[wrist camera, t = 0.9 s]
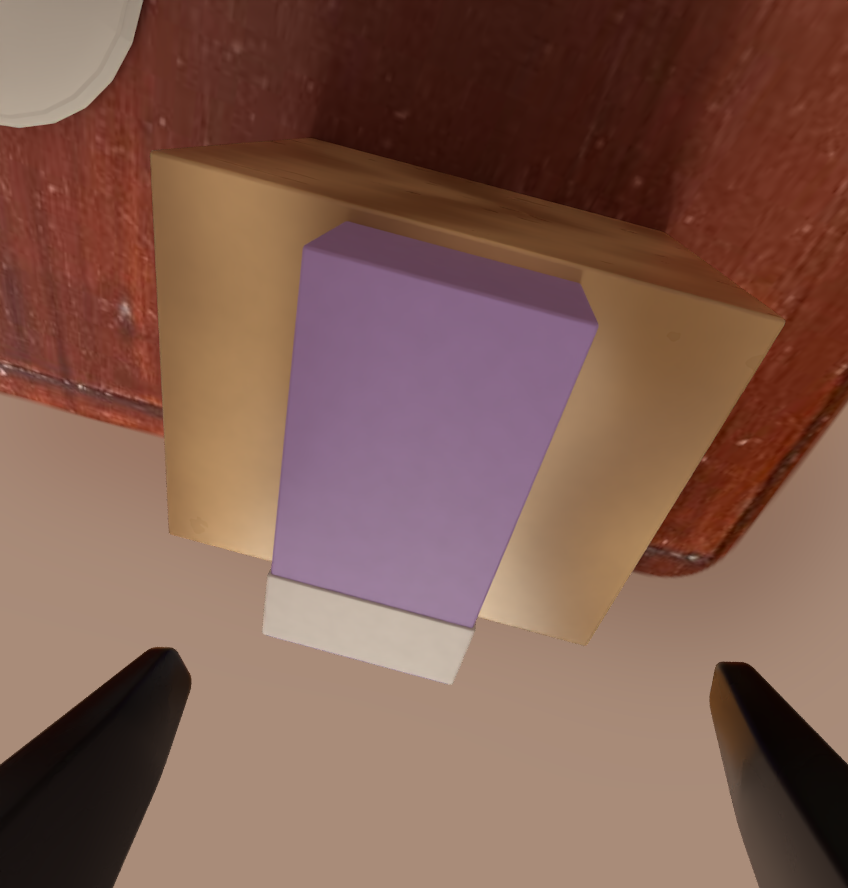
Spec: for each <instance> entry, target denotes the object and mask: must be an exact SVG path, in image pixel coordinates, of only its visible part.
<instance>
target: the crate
mask: <svg viewBox="0 0 848 888" xmlns="http://www.w3.org/2000/svg"><path fill="white" fill-rule="evenodd" d="M150 165H151V185H152V205H153V225H154V245H155V265H156V285H157V305H158V325H159V345H160V365H161V385H162V405H163V425H164V445H165V465H166V484H167V503H168V522H169V523H168V525H169V533H170V534H171V535H175V536H179V537H182V538H186V539H189V540H193V541H197V542H201V543H205V544H208V545H212V546H216V547H219V548H223V549H227V550H230V551H234V552H238V553H241V554H245V555H249V556H253V557H256V558H260V559H264V560H268V561H271V562H272V557H273V547H274V537H275V526H276V516H277V506H278V496H279V486H280V475H281V465H282V455H283V445H284V435H285V424H286V414H287V404H288V394H289V384H290V373H291V363H292V353H293V343H294V333H295V322H296V312H297V302H298V292H299V282H300V272H301V261H302V251H303V247H304V245H306V244H307V243H309V242H311V241H313V240H314V239H316V238H318V237H320V236H321V235H323V234H325V233H327V232H328V231H330V230H332V229H334V228H335V227H337V226H339V225H340V224H342V223H344V222H347V221H349V222H352V223H356V224H360V225H364V226H367V227H371V228H375V229H379V230H382V231H386V232H390V233H394V234H397V235H401V236H405V237H409V238H412V239H416V240H420V241H423V242H427V243H431V244H435V245H438V246H442V247H446V248H450V249H453V250H457V251H461V252H465V253H468V254H472V255H476V256H480V257H483V258H487V259H491V260H495V261H498V262H502V263H506V264H510V265H513V266H517V267H521V268H524V269H528V270H532V271H536V272H539V273H543V274H547V275H551V276H554V277H558V278H562V279H566V280H569V281H573V282H577V283H579V284H581V286H582V288H583V290H584V292H585V295H586V297H587V299H588V301H589V304H590V306H591V308H592V311H593V313H594V315H595V317H596V320H597V322H598V330H597V332H596V335H595V337H594V339H593V342H592V344H591V347H590V349H589V351H588V354H587V356H586V358H585V361H584V363H583V366H582V368H581V370H580V373H579V375H578V378H577V380H576V382H575V385H574V387H573V390H572V392H571V394H570V397H569V399H568V402H567V404H566V406H565V409H564V411H563V414H562V416H561V418H560V421H559V423H558V426H557V428H556V430H555V433H554V435H553V437H552V440H551V442H550V445H549V447H548V449H547V452H546V454H545V457H544V459H543V461H542V464H541V466H540V469H539V471H538V473H537V476H536V478H535V481H534V483H533V485H532V488H531V490H530V493H529V495H528V497H527V500H526V502H525V505H524V507H523V509H522V512H521V514H520V517H519V519H518V521H517V524H516V526H515V528H514V531H513V533H512V536H511V538H510V540H509V543H508V545H507V548H506V550H505V552H504V555H503V557H502V560H501V562H500V564H499V567H498V569H497V572H496V574H495V576H494V579H493V581H492V584H491V586H490V588H489V591H488V593H487V596H486V598H485V600H484V603H483V605H482V607H481V610H480V612H479V615H478V617H479V618H483V619H486V620H491V621H494V622H498V623H502V624H505V625H509V626H513V627H516V628H520V629H524V630H527V631H531V632H535V633H539V634H543V635H546V636H550V637H554V638H557V639H561V640H564V641H568V642H572V643H576V644H580V645H583V646H586V645H587V644H588V642H589V641H590V639H591V638H592V636H593V634H594V633H595V631H596V629H597V628H598V626H599V624H600V623H601V621H602V620H603V618H604V616H605V615H606V613H607V612H608V610H609V608H610V607H611V605H612V603H613V602H614V600H615V598H616V597H617V595H618V594H619V592H620V590H621V589H622V587H623V586H624V584H625V582H626V581H627V579H628V578H629V576H630V574H631V573H632V571H633V569H634V568H635V566H636V565H637V563H638V561H639V560H640V558H641V556H642V555H643V553H644V552H645V550H646V548H647V547H648V545H649V543H650V542H651V540H652V539H653V537H654V535H655V534H656V532H657V531H658V529H659V527H660V526H661V524H662V522H663V521H664V519H665V518H666V516H667V514H668V513H669V511H670V509H671V508H672V506H673V505H674V503H675V501H676V500H677V498H678V496H679V495H680V493H681V492H682V490H683V488H684V487H685V485H686V483H687V482H688V480H689V479H690V477H691V475H692V474H693V472H694V470H695V469H696V467H697V466H698V464H699V462H700V461H701V459H702V458H703V456H704V454H705V453H706V451H707V449H708V448H709V446H710V445H711V443H712V441H713V440H714V438H715V436H716V435H717V433H718V432H719V430H720V428H721V427H722V425H723V423H724V422H725V420H726V419H727V417H728V415H729V414H730V412H731V410H732V409H733V407H734V406H735V404H736V402H737V401H738V399H739V398H740V396H741V394H742V393H743V391H744V389H745V388H746V386H747V385H748V383H749V381H750V380H751V378H752V376H753V375H754V373H755V372H756V370H757V368H758V367H759V365H760V363H761V362H762V360H763V359H764V357H765V355H766V354H767V352H768V350H769V349H770V347H771V346H772V344H773V342H774V341H775V339H776V337H777V336H778V334H779V333H780V331H781V329H782V328H783V326H784V325H785V320H784V319H783V318H782V317H781V316H779V315H778V314H777V313H775V312H774V311H773V310H771V309H770V308H768V307H767V306H766V305H764V304H763V303H762V302H760V301H759V300H757V299H756V298H755V297H753V296H752V295H751V294H749V293H748V292H746V291H745V290H744V289H742V288H741V287H740V286H738V285H737V284H735V283H734V282H733V281H731V280H730V279H729V278H727V277H726V276H724V275H723V274H722V273H720V272H719V271H718V270H716V269H715V268H713V267H712V266H711V265H709V264H708V263H706V262H705V261H704V260H702V259H701V258H700V257H698V256H697V255H695V254H694V253H693V252H691V251H690V250H689V249H687V248H686V247H684V246H683V245H682V244H680V243H679V242H678V241H676V240H675V239H673V238H672V237H671V236H669V235H668V234H667V233H665V232H662V231H659V230H655V229H651V228H647V227H644V226H640V225H636V224H632V223H629V222H625V221H621V220H617V219H614V218H610V217H606V216H602V215H599V214H595V213H591V212H587V211H584V210H580V209H576V208H572V207H569V206H565V205H561V204H557V203H554V202H550V201H546V200H542V199H539V198H535V197H531V196H527V195H524V194H520V193H516V192H512V191H509V190H505V189H501V188H497V187H494V186H490V185H486V184H482V183H479V182H475V181H471V180H468V179H464V178H460V177H456V176H453V175H449V174H445V173H441V172H438V171H434V170H430V169H426V168H423V167H419V166H415V165H411V164H408V163H404V162H400V161H396V160H393V159H389V158H385V157H381V156H378V155H374V154H370V153H366V152H363V151H359V150H355V149H351V148H348V147H344V146H340V145H336V144H333V143H329V142H325V141H321V140H318V139H314V138H298V139H286V140H274V141H261V142H249V143H236V144H224V145H211V146H199V147H187V148H174V149H162V150H153V151H151V153H150Z"/></svg>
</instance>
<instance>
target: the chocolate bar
mask: <svg viewBox="0 0 848 888" xmlns="http://www.w3.org/2000/svg"><path fill="white" fill-rule="evenodd" d="M597 330H598V322H597V320H596V317H595V315H594V313H593V311H592V308H591V306H590V304H589V301H588V299H587V297H586V295H585V292H584V290H583V288H582V286H581V284H579V283H577V282H573V281H569V280H566V279H562V278H558V277H554V276H551V275H547V274H543V273H539V272H536V271H532V270H528V269H524V268H521V267H517V266H513V265H510V264H506V263H502V262H498V261H495V260H491V259H487V258H483V257H480V256H476V255H472V254H468V253H465V252H461V251H457V250H453V249H450V248H446V247H442V246H438V245H435V244H431V243H427V242H423V241H420V240H416V239H412V238H409V237H405V236H401V235H397V234H394V233H390V232H386V231H382V230H379V229H375V228H371V227H367V226H364V225H360V224H356V223H352V222H349V221H347V222H344V223H342V224H340V225H339V226H337V227H335V228H334V229H332V230H330V231H328V232H327V233H325V234H323V235H321V236H320V237H318V238H316V239H314V240H313V241H311V242H309V243H307V244H306V245H304V247H303V251H302V261H301V272H300V282H299V292H298V302H297V312H296V322H295V333H294V343H293V353H292V363H291V373H290V384H289V394H288V404H287V414H286V424H285V435H284V445H283V455H282V465H281V475H280V486H279V496H278V506H277V516H276V526H275V537H274V547H273V557H272V567H271V569H270V571H269V573H268V576H267V586H266V597H265V607H264V619H263V629H262V633H263V634H265V635H267V636H271V637H274V638H278V639H282V640H285V641H289V642H293V643H297V644H300V645H304V646H308V647H312V648H315V649H319V650H322V651H326V652H330V653H334V654H338V655H341V656H345V657H348V658H352V659H356V660H360V661H363V662H367V663H371V664H374V665H378V666H382V667H385V668H390V669H393V670H397V671H400V672H404V673H408V674H411V675H415V676H419V677H423V678H426V679H430V680H434V681H438V682H441V683H445V684H453V682H454V679H455V677H456V675H457V672H458V670H459V668H460V665H461V663H462V660H463V658H464V656H465V653H466V651H467V649H468V646H469V644H470V641H471V639H472V637H473V634H474V632H475V625H476V619H477V617H478V615H479V612H480V610H481V607H482V605H483V603H484V600H485V598H486V596H487V593H488V591H489V588H490V586H491V584H492V581H493V579H494V576H495V574H496V572H497V569H498V567H499V564H500V562H501V560H502V557H503V555H504V552H505V550H506V548H507V545H508V543H509V540H510V538H511V536H512V533H513V531H514V528H515V526H516V524H517V521H518V519H519V517H520V514H521V512H522V509H523V507H524V505H525V502H526V500H527V497H528V495H529V493H530V490H531V488H532V485H533V483H534V481H535V478H536V476H537V473H538V471H539V469H540V466H541V464H542V461H543V459H544V457H545V454H546V452H547V449H548V447H549V445H550V442H551V440H552V437H553V435H554V433H555V430H556V428H557V426H558V423H559V421H560V418H561V416H562V414H563V411H564V409H565V406H566V404H567V402H568V399H569V397H570V394H571V392H572V390H573V387H574V385H575V382H576V380H577V378H578V375H579V373H580V370H581V368H582V366H583V363H584V361H585V358H586V356H587V354H588V351H589V349H590V347H591V344H592V342H593V339H594V337H595V335H596V332H597Z"/></svg>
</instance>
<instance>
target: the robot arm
mask: <svg viewBox="0 0 848 888" xmlns="http://www.w3.org/2000/svg"><path fill="white" fill-rule="evenodd" d="M190 689H191V675H190V673H189V672H188V670H187V668H186V666H185V664H184V662H183V661H182V659H181V657H180V655H179V654H178V652H177V651H176V650H175V649H173V648H170V647H155V648H151V649H149V650H147V651H146V652H144V653H143V654H142V655H141V656H139V657H138V658H137V659H135V660H134V661H133V662H131V663H130V664H129V665H128V666H126V667H125V668H124V669H123V670H121V671H120V672H119V673H117V674H116V675H115V676H113V677H112V678H111V679H110V680H108V681H107V682H106V683H104V684H103V685H102V686H101V687H99V688H98V689H97V690H95V691H94V692H93V693H92V694H90V695H89V696H88V697H86V698H85V699H84V700H83V701H81V702H80V703H79V704H78V705H76V706H75V707H74V708H72V709H71V710H70V711H68V712H67V713H66V714H65V715H63V716H62V717H61V718H59V719H58V720H57V721H56V722H54V723H53V724H52V725H50V726H49V727H48V728H47V729H45V730H44V731H43V732H42V733H40V734H39V735H38V736H37V737H35V738H34V739H33V740H31V741H30V742H29V743H27V744H26V745H25V746H23V747H22V748H21V749H20V750H18V751H17V752H16V753H14V754H13V755H12V756H11V757H9V758H8V759H7V760H6V761H4V762H3V763H2V764H0V888H113V886H114V884H115V882H116V879H117V877H118V875H119V872H120V870H121V867H122V865H123V863H124V861H125V859H126V856H127V854H128V852H129V850H130V847H131V845H132V843H133V840H134V838H135V835H136V833H137V831H138V829H139V827H140V824H141V822H142V820H143V817H144V815H145V813H146V810H147V808H148V806H149V804H150V801H151V799H152V797H153V794H154V792H155V790H156V787H157V785H158V782H159V780H160V778H161V775H162V772H163V769H164V766H165V764H166V761H167V758H168V755H169V752H170V749H171V746H172V743H173V740H174V737H175V734H176V731H177V728H178V725H179V722H180V719H181V717H182V714H183V710H184V707H185V704H186V701H187V699H188V695H189V693H190ZM710 709H711V714H712V718H713V722H714V727H715V731H716V735H717V740H718V743H719V748H720V752H721V757H722V761H723V765H724V769H725V773H726V777H727V782H728V786H729V790H730V795H731V799H732V803H733V807H734V811H735V815H736V819H737V823H738V826H739V829H740V832H741V835H742V838H743V842H744V845H745V848H746V851H747V854H748V856H749V859H750V862H751V865H752V868H753V870H754V873H755V877H756V879H757V882H758V885H759V888H848V764H847V763H846V762H845V761H844V760H843V759H842V758H841V757H840V756H839V755H838V754H837V753H836V752H835V751H834V750H833V749H832V748H831V747H830V746H829V745H828V744H827V743H826V742H825V741H824V740H823V739H822V737H821V736H819V734H818V733H816V731H814V729H813V728H812V727H811V726H810V725H809V724H808V723H807V722H806V721H805V720H804V719H803V718H802V717H801V716H800V715H799V714H798V713H797V712H796V711H795V710H794V709H793V708H792V707H791V706H790V705H789V704H788V703H787V702H786V701H785V700H784V699H783V698H782V697H781V696H780V695H779V693H778V692H776V690H775V689H774V688H773V687H772V686H771V685H770V684H769V683H768V682H767V681H766V680H765V679H764V678H763V677H762V676H761V675H760V674H759V673H758V672H757V671H756V670H755V669H754V668H753V667H752V666H750V665H749V664H747V663H744V662H719V663H718V664H717V665H716V667H715V672H714V676H713V681H712V687H711V692H710Z"/></svg>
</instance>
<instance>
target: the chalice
mask: <svg viewBox="0 0 848 888" xmlns="http://www.w3.org/2000/svg"><path fill="white" fill-rule="evenodd" d="M142 3H143V0H0V125H5V126H11V127H17V128H22V127H30V126H37V125H45V124H52V123H56V122H58V121H60V120H62V119H64V118H66V117H68V116H70V115H72V114H74V113H76V112H78V111H80V110H82V109H84V108H86V107H87V106H88V105H89V104H90V103H91V102H92V101H93V100H94V99H95V98H96V97H97V96H98V95H99V94H100V93H101V92H102V91H103V90H104V89H105V88H106V87H107V86H108V85H109V84H110V83H111V82H112V81H113V79H114V77H115V75H116V73H117V71H118V69H119V67H120V66H121V64H122V62H123V60H124V58H125V56H126V54H127V52H128V51H129V49H130V47H131V45H132V43H133V39H134V35H135V31H136V27H137V23H138V19H139V15H140V11H141V7H142Z"/></svg>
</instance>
